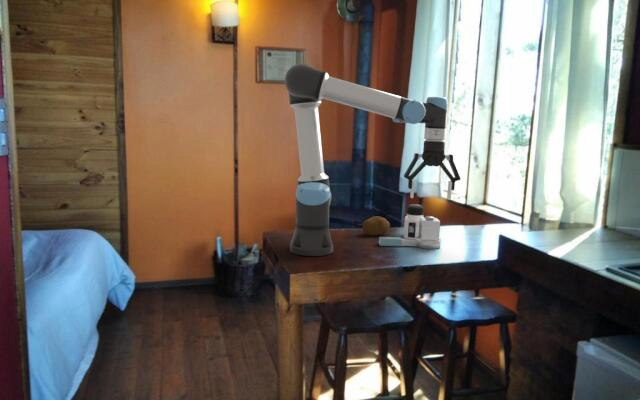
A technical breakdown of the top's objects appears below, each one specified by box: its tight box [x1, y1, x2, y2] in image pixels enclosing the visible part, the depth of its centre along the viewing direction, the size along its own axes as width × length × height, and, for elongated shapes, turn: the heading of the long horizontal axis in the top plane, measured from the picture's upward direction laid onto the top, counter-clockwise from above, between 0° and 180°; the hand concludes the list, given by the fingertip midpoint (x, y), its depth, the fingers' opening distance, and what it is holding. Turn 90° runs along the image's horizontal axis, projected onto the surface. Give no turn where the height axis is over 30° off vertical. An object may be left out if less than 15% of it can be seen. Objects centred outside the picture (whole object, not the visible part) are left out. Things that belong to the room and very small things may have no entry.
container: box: [403, 204, 425, 239], centre depth 206 cm, size 8×8×13 cm
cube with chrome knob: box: [419, 215, 441, 241], centre depth 192 cm, size 6×6×8 cm
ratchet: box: [378, 236, 441, 250], centre depth 193 cm, size 22×9×8 cm, turn 89°
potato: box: [362, 215, 391, 236], centre depth 208 cm, size 8×12×8 cm, turn 122°
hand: (430, 198), depth 190 cm, fingers open, 13 cm apart
